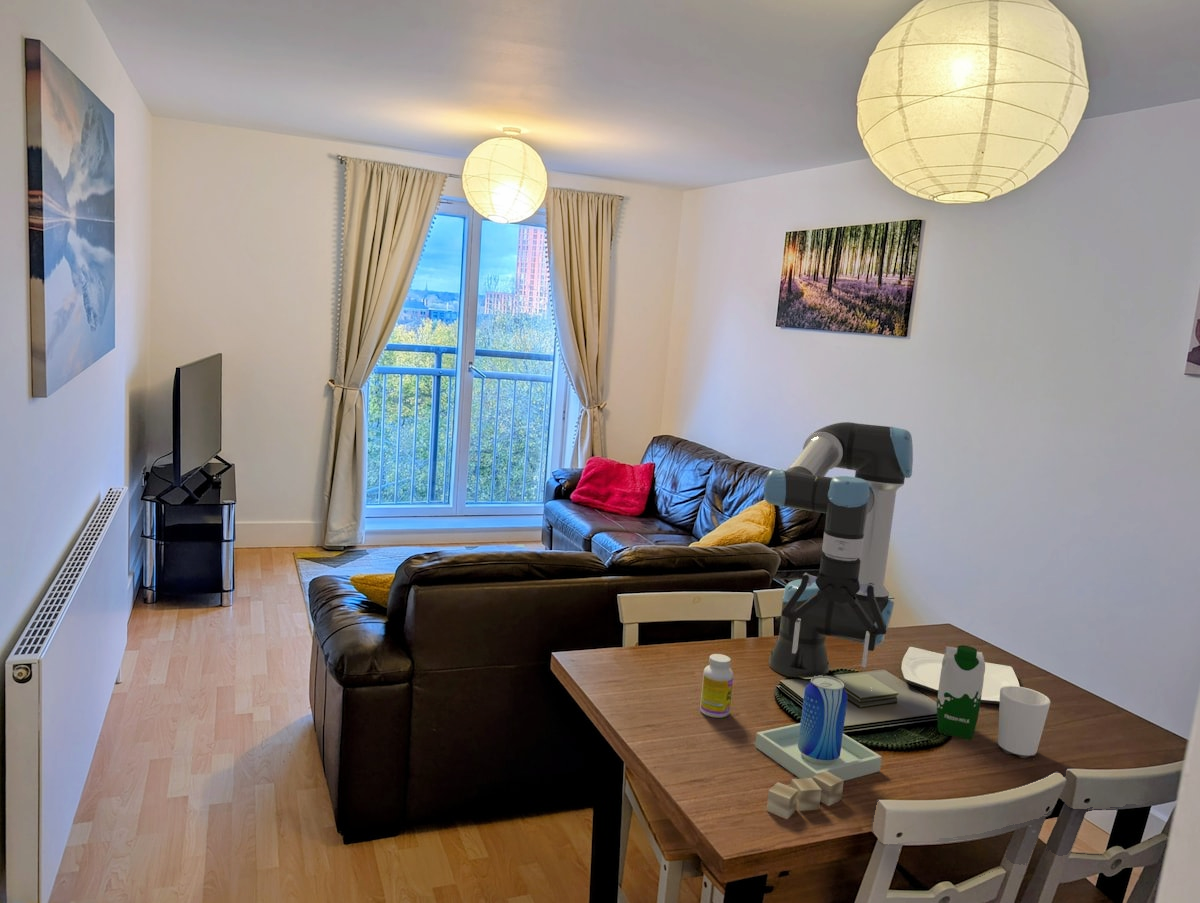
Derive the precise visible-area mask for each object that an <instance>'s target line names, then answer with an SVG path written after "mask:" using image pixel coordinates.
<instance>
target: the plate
mask: <svg viewBox="0 0 1200 903" xmlns="http://www.w3.org/2000/svg"><path fill="white" fill-rule="evenodd" d="M944 654H945V653H939V652H935V651H930V650H927V649H923V648H919V647H918V648H917V647H914V646H909V647H908V649H907V651H906V652H905V654H904V656H903V658H902V661H901V668H900V669H901V670H900V671H901V674H902V677H903V680H904V681H905V682H906V683H907V684H909V685H912V686H915V687H918V688H921V689H925V690H928V691H930V692H933V693H937V694H938V689H939V682H940V675H941V669H942V661H943V657H944ZM1005 686H1018V687H1021V686H1020V683H1019V680H1018V677H1017V675H1016V673H1015V671H1014V669H1013V666H1010V665H1005V664H999V663H998V664H997V663H992V662H986V661H985V673H984V681H983V689H982V695H981V702H980V703H985V704H994V705H999V704H1000V689H1001V688H1002V687H1005Z"/></svg>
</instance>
